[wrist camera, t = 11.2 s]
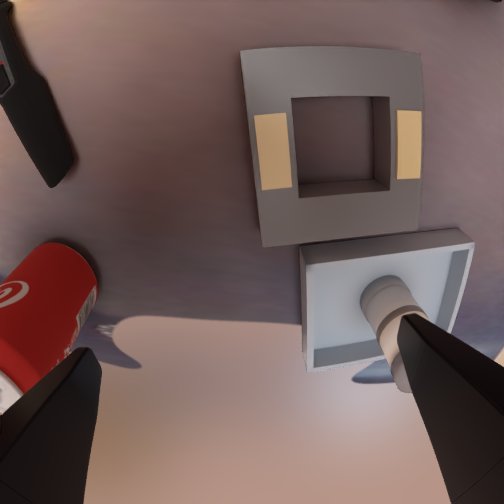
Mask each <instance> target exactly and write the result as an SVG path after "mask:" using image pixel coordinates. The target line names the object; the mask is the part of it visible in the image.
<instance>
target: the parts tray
mask: <svg viewBox="0 0 504 504" xmlns="http://www.w3.org/2000/svg"><path fill="white" fill-rule="evenodd" d="M474 247H475V241H474V240H472V239H471V238H470V237H469V236H467V235H466V234H465V233H464V232H463V231H461V230H460V229H459V228H452V229H443V230H435V231H426V232H417V233H409V234H400V235H391V236H383V237H374V238H366V239H357V240H348V241H340V242H331V243H322V244H314V245H305V246H299V254H300V279H301V312H302V352H303V357H304V361H305V366H306V371H307V373H310V372H317V371H323V370H329V369H335V368H340V367H346V366H351V365H356V364H362V363H367V362H372V361H377V360H381V359H386V357H385V355H384V353H383V351H382V349H381V348H380V346H379V344H378V342H377V339H376V336H375V334H374V332H373V330H372V328H371V325H370V323H368V321H367V320H366V318H365V316H364V314H363V312H362V310H361V308H360V297H361V294H362V292H363V291H364V289H365V288H366V287H367V286H368V284H370V283H371V282H372V281H373V280H375V279H377V278H379V277H382V276H385V275H394V276H398V277H399V278H401V279H402V280H403V281H404V283H405V284H406V285H407V287H408V288H409V290H410V291H411V294H412V296H413V297H414V299H415V300H416V302H417V303H418V304H419V306H420V307H421V308H422V309H423V310H424V312H425V313H426V315H427V316H428V318H429V320H430V322H432V323H433V324H435V325H437V326H438V327H440V328H442V329H443V330H445V331H447V332H448V333H450V334H451V331H452V328H453V325H454V322H455V319H456V315H457V312H458V309H459V306H460V302H461V299H462V295H463V292H464V288H465V285H466V281H467V277H468V273H469V269H470V265H471V260H472V256H473V251H474Z"/></svg>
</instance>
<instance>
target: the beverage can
mask: <svg viewBox="0 0 504 504" xmlns="http://www.w3.org/2000/svg"><path fill="white" fill-rule="evenodd" d="M97 296H98V286H97V281H96V277H95V275H94V273H93V271H92V269H91V267H90V266H89V264H88V263H87V261H86V260H85V259H84V258H83V257H82V256H81V255H80V254H79V253H78V252H76V251H75V250H73V249H72V248H70V247H68V246H66V245H63V244H59V243H44V244H42V245H39V246H38V247H37V248H35V249H34V250H33V251H32V252H31V253H30V254H29V255H28V256H27V257H26V258H25V259H24V260H23V261H22V262H21V263H20V265H19V266H18V267H17V268H16V269H15V270H14V271H13V272H12V273H11V274H10V275H9V276H8V277H7V278H6V279H5V281H4V282H3V283H2V284H1V285H0V412H1V413H4V412H5V411H6V410H7V409H8V408H9V407H10V406H11V405H12V404H14V403H15V402H16V401H17V400H18V399H19V398H20V397H21V396H22V395H24V394H25V393H26V392H27V391H28V390H29V389H30V388H31V387H33V386H34V385H35V384H36V383H37V382H38V381H39V380H41V379H42V378H43V377H44V376H45V375H46V374H47V373H49V372H50V371H51V370H52V369H53V368H54V367H55V366H57V365H58V364H59V363H60V362H61V361H62V360H64V359H65V358H66V357H67V356H68V354H69V352H70V350H71V348H72V346H73V344H74V342H75V340H76V338H77V336H78V334H79V332H80V330H81V328H82V326H83V324H84V322H85V321H86V319H87V317H88V315H89V313H90V311H91V309H92V308H93V306H94V304H95V302H96V300H97Z"/></svg>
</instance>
